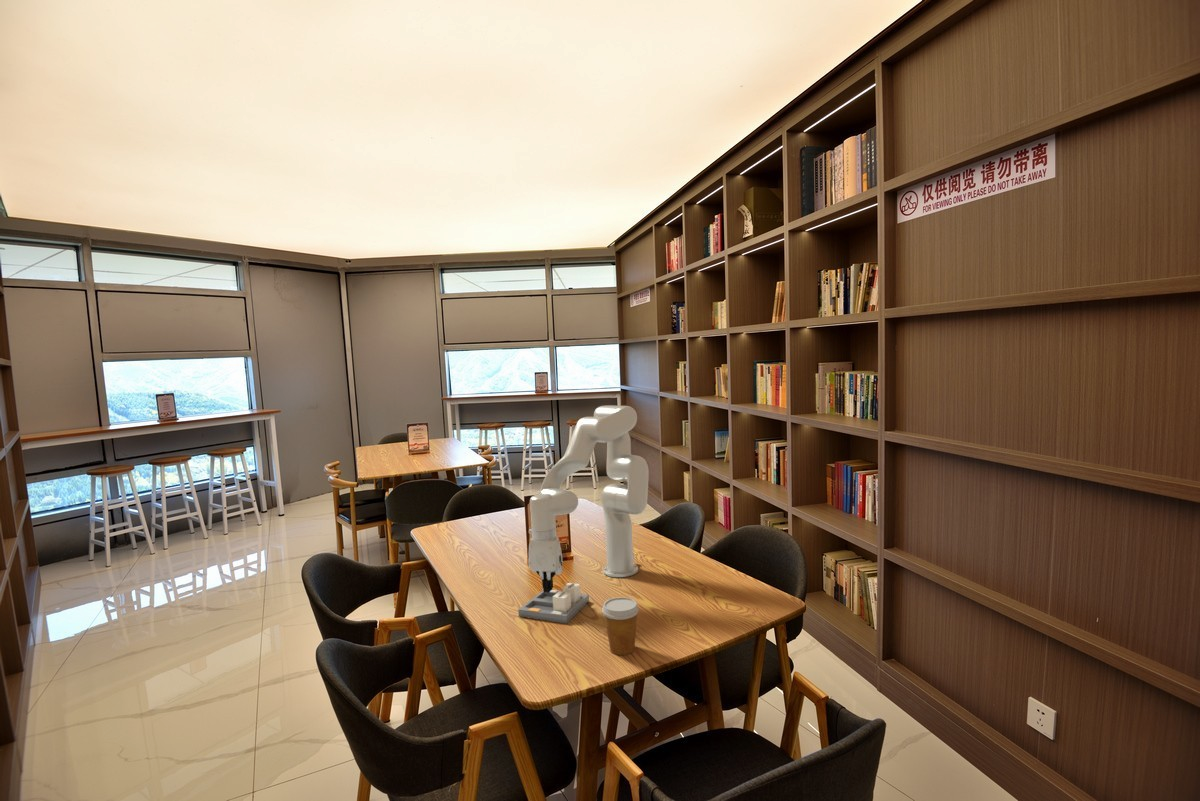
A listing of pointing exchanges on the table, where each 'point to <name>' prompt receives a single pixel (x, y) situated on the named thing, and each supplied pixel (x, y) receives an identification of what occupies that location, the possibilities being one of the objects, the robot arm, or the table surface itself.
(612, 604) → the disposable coffee cup
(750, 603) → the table surface
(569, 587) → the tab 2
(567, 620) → the switch bank
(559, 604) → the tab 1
